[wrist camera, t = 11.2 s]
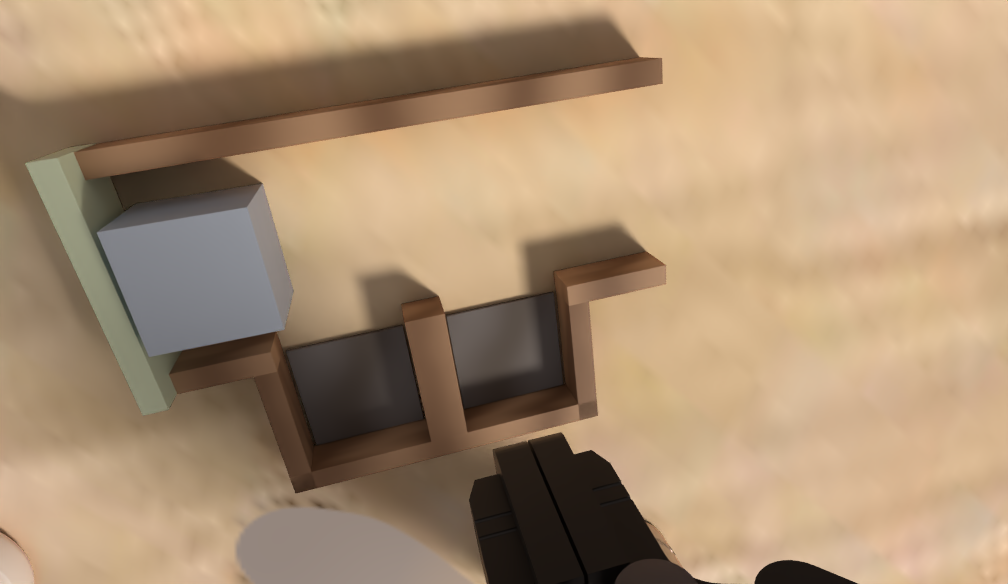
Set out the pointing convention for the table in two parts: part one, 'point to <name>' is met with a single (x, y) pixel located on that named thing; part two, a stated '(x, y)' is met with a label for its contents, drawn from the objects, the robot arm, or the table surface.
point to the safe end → (101, 269)
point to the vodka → (14, 563)
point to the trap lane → (409, 308)
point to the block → (200, 268)
